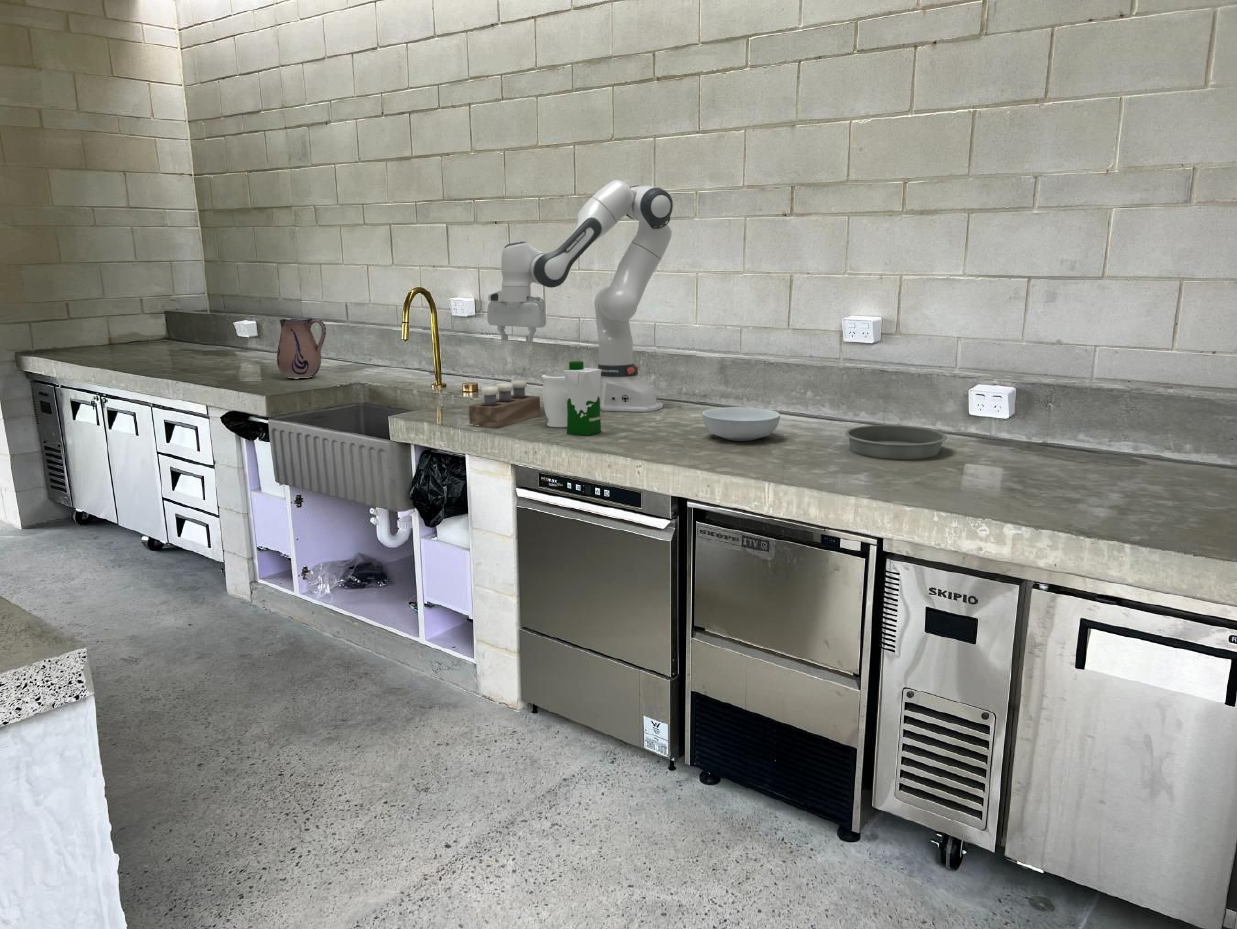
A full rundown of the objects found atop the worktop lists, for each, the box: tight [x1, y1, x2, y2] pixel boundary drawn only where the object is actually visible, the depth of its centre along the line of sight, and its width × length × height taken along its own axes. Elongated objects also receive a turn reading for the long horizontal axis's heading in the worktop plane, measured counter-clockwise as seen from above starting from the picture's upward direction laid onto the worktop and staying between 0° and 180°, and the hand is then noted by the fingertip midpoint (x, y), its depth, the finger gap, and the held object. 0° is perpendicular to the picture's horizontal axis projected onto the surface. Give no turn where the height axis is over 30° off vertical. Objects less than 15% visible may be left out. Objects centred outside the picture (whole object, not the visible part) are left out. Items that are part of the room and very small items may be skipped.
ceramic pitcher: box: [276, 317, 327, 378], centre depth 390 cm, size 18×21×25 cm
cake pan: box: [844, 424, 948, 460], centre depth 234 cm, size 25×25×4 cm
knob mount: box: [468, 394, 541, 429], centre depth 284 cm, size 10×24×6 cm, turn 154°
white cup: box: [541, 372, 567, 428], centre depth 273 cm, size 11×10×15 cm
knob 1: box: [481, 385, 499, 407], centre depth 276 cm, size 5×5×6 cm
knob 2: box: [510, 379, 527, 399], centre depth 290 cm, size 5×5×6 cm
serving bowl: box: [701, 406, 781, 442], centre depth 252 cm, size 21×21×7 cm
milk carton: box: [563, 360, 602, 437], centre depth 261 cm, size 9×9×20 cm
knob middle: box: [496, 382, 513, 403], centre depth 283 cm, size 5×5×6 cm
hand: (516, 341), depth 288 cm, fingers open, 8 cm apart
